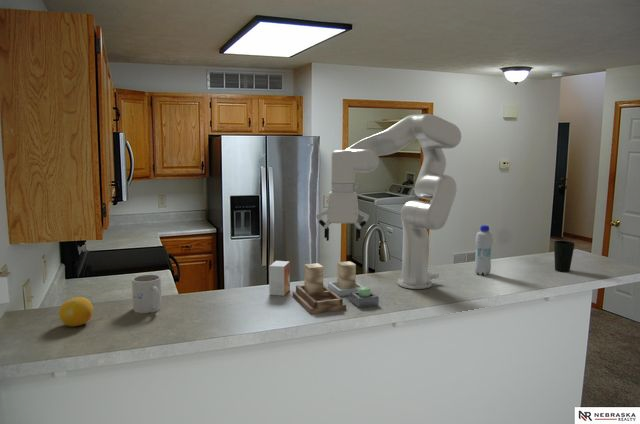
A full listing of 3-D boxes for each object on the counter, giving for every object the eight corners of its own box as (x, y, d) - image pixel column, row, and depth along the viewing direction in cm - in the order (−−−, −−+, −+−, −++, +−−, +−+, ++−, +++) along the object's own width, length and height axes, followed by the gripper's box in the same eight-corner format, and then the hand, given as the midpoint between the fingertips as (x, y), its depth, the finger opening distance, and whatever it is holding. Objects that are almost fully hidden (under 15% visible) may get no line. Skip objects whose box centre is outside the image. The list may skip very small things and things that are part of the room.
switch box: (369, 298, 168) (369, 290, 168) (378, 305, 162) (378, 296, 161) (350, 301, 166) (350, 292, 166) (359, 307, 159) (359, 298, 159)
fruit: (59, 332, 139) (57, 304, 137) (61, 322, 146) (59, 296, 145) (93, 327, 142) (91, 300, 141) (94, 318, 149) (92, 292, 148)
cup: (576, 273, 203) (578, 244, 201) (557, 272, 203) (559, 244, 201) (567, 268, 210) (569, 240, 208) (548, 268, 210) (550, 240, 208)
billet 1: (318, 291, 172) (318, 263, 170) (323, 295, 167) (323, 266, 166) (304, 292, 170) (304, 264, 169) (309, 297, 165) (309, 267, 164)
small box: (284, 296, 171) (284, 266, 169) (268, 295, 172) (268, 265, 171) (290, 289, 179) (290, 261, 177) (275, 288, 180) (275, 260, 178)
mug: (130, 307, 159) (129, 276, 158) (158, 302, 164) (156, 273, 162) (139, 318, 149) (137, 286, 148) (168, 313, 154) (167, 282, 152)
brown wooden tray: (324, 292, 176) (324, 282, 175) (346, 309, 158) (346, 298, 157) (292, 295, 171) (292, 286, 171) (310, 313, 154) (310, 303, 153)
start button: (367, 295, 166) (367, 286, 166) (372, 298, 162) (372, 289, 162) (356, 296, 165) (356, 287, 164) (361, 299, 161) (361, 291, 161)
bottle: (476, 270, 205) (479, 223, 202) (493, 273, 202) (495, 225, 199) (471, 274, 200) (473, 225, 197) (487, 276, 196) (490, 227, 193)
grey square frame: (352, 285, 184) (352, 279, 184) (364, 293, 175) (365, 287, 174) (328, 287, 181) (328, 282, 181) (339, 296, 171) (339, 290, 171)
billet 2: (349, 287, 181) (350, 261, 180) (355, 291, 176) (355, 264, 175) (337, 289, 179) (337, 262, 178) (342, 293, 175) (342, 265, 173)
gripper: (369, 187, 164) (368, 238, 166) (316, 187, 164) (316, 237, 167) (370, 189, 156) (369, 243, 159) (315, 189, 157) (315, 242, 159)
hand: (342, 240), depth 163 cm, fingers open, 9 cm apart
